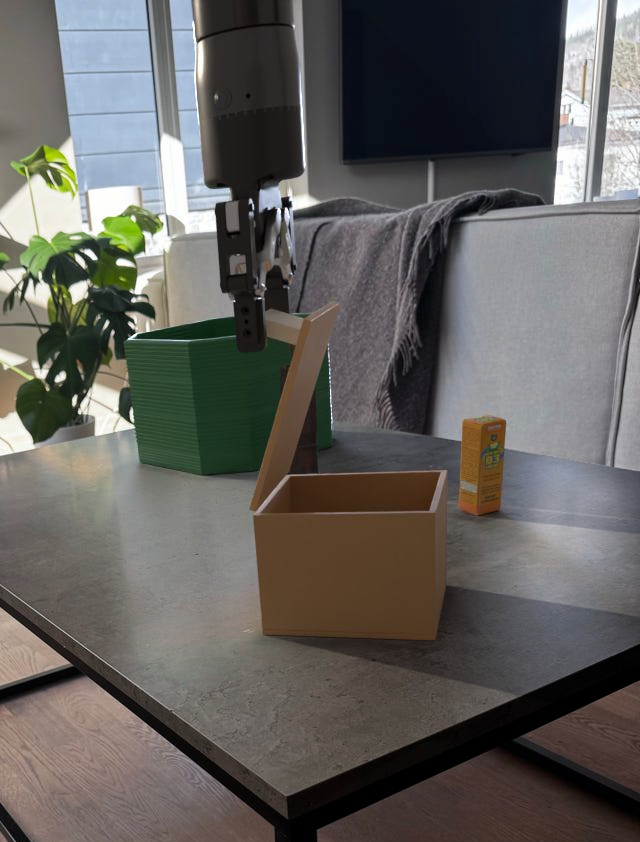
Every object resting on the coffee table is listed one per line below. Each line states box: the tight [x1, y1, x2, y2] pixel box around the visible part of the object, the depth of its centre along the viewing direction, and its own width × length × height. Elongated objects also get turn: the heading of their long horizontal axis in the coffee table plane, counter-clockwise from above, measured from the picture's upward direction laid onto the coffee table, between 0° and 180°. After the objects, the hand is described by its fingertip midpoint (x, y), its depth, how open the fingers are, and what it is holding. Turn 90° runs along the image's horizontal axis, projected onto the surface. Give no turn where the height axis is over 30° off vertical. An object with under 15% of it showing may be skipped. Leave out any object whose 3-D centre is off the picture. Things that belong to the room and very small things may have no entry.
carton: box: [252, 469, 448, 641], centre depth 77 cm, size 14×12×10 cm
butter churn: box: [280, 343, 319, 475], centre depth 114 cm, size 9×10×28 cm
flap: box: [248, 300, 341, 513], centre depth 74 cm, size 15×12×5 cm
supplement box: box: [458, 414, 507, 516], centre depth 98 cm, size 3×3×10 cm
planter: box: [123, 312, 334, 476], centre depth 137 cm, size 26×26×18 cm
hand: (266, 343), depth 73 cm, fingers open, 8 cm apart
